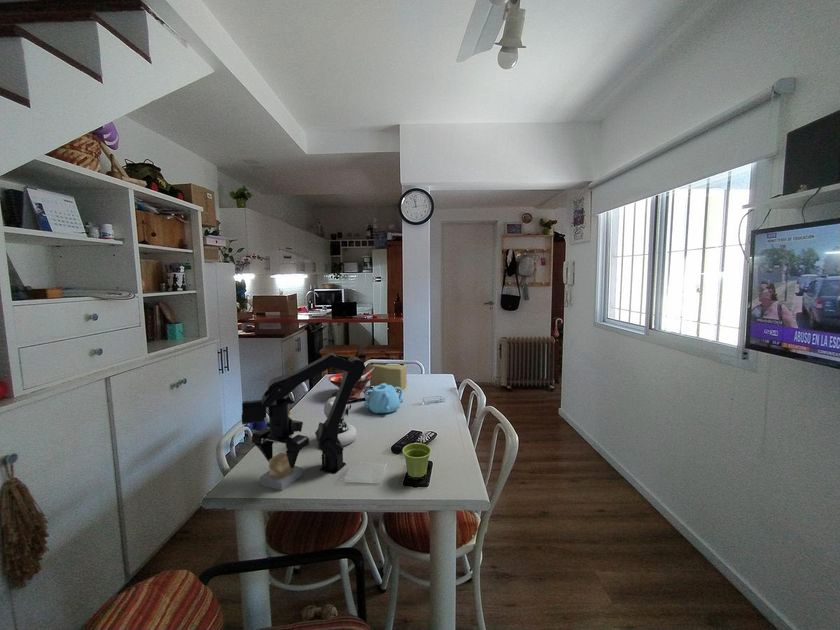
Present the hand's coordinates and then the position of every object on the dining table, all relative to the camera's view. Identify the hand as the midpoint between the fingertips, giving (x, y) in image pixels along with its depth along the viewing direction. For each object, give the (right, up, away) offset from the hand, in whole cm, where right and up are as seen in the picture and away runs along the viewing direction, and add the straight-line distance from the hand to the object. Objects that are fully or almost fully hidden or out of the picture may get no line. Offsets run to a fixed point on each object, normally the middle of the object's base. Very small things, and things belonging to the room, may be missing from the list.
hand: (281, 464), depth 105 cm
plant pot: (+44, -5, +2) cm, 44 cm away
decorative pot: (+27, 0, +59) cm, 64 cm away
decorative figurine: (+12, -3, +27) cm, 29 cm away
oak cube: (0, -3, 0) cm, 2 cm away
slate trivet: (0, -5, 0) cm, 5 cm away
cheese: (+25, +3, +91) cm, 94 cm away
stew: (+7, +2, +78) cm, 78 cm away
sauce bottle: (-11, -3, +29) cm, 31 cm away
